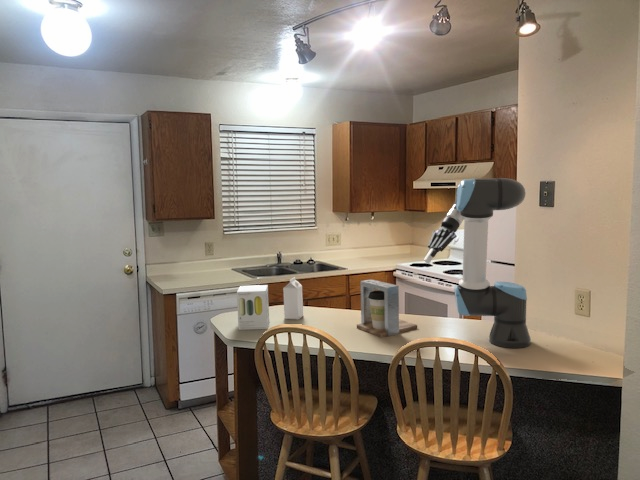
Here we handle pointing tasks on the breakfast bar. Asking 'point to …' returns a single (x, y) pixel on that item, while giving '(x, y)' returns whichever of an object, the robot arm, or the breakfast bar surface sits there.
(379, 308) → the coffee cup
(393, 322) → the grey keeper bridge
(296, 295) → the milk carton
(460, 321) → the breakfast bar surface
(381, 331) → the walnut board
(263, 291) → the supplement box
